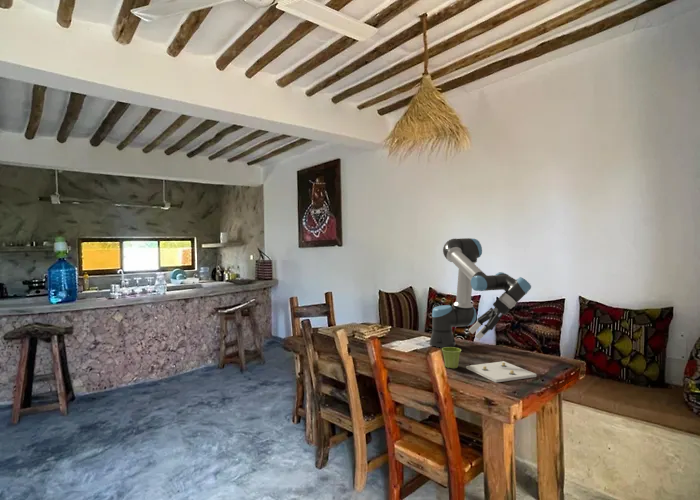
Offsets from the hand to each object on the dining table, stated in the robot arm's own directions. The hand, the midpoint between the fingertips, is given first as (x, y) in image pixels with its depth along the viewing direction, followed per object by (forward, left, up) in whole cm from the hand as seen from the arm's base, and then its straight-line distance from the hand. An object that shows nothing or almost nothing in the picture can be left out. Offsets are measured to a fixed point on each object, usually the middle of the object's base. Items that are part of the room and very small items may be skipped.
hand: (473, 335), depth 199 cm
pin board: (+12, +6, -16) cm, 21 cm away
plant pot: (-4, -10, -16) cm, 19 cm away
